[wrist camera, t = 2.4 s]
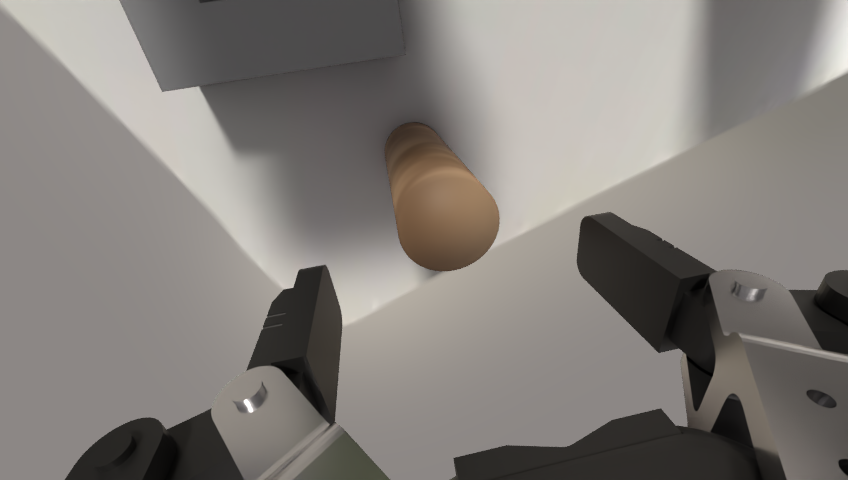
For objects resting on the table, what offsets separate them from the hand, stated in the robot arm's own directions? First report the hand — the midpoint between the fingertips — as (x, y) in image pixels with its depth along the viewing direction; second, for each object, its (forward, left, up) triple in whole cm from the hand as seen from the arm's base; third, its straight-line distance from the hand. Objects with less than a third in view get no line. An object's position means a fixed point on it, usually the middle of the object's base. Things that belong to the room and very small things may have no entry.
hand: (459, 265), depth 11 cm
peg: (0, 0, -15) cm, 15 cm away
